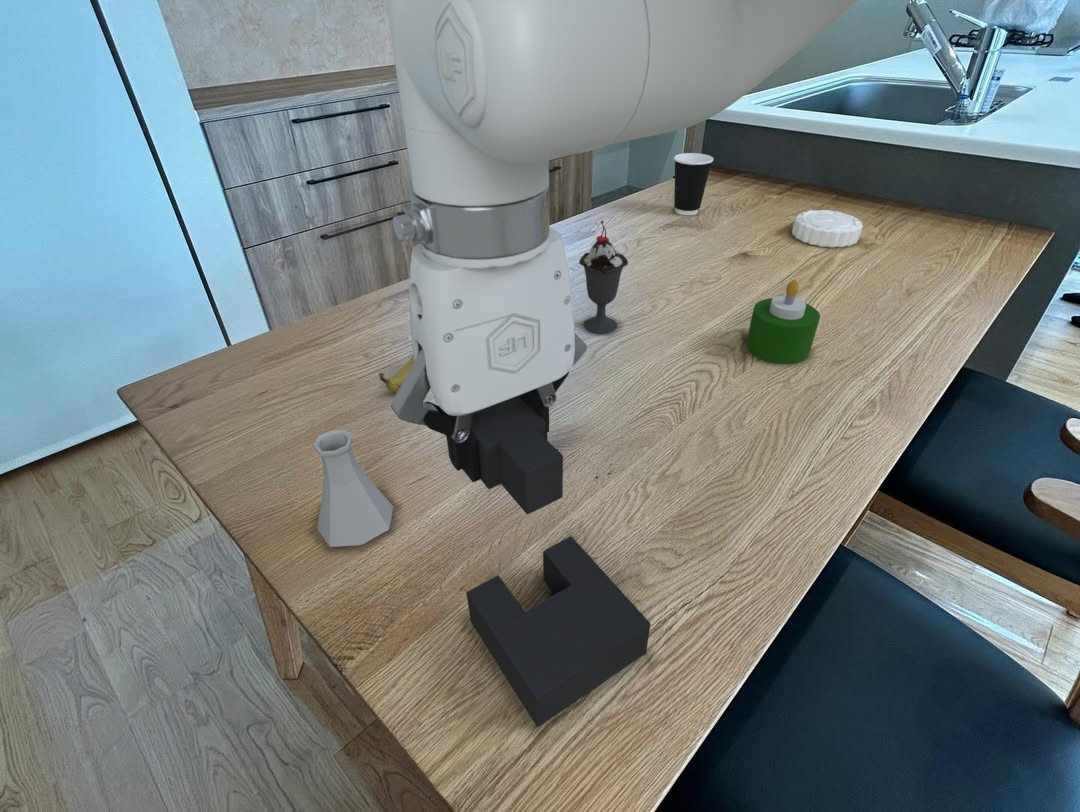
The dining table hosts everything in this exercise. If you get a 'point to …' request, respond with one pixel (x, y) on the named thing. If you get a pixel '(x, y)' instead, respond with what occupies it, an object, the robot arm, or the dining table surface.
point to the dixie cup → (690, 181)
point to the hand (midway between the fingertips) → (501, 453)
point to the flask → (348, 495)
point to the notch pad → (559, 631)
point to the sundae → (602, 281)
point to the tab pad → (518, 454)
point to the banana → (397, 377)
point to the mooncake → (827, 228)
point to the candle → (782, 328)
